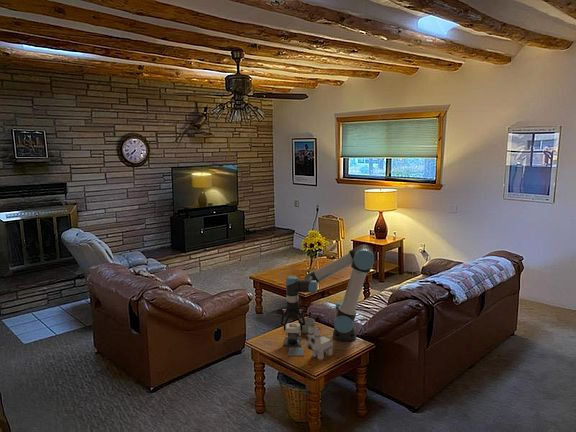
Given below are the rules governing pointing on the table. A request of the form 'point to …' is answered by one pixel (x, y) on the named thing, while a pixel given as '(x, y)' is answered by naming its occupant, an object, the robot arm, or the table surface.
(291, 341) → the ring stand
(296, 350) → the slate mat
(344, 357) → the table surface
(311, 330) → the toy llama
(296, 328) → the cream ring
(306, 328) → the teacup
